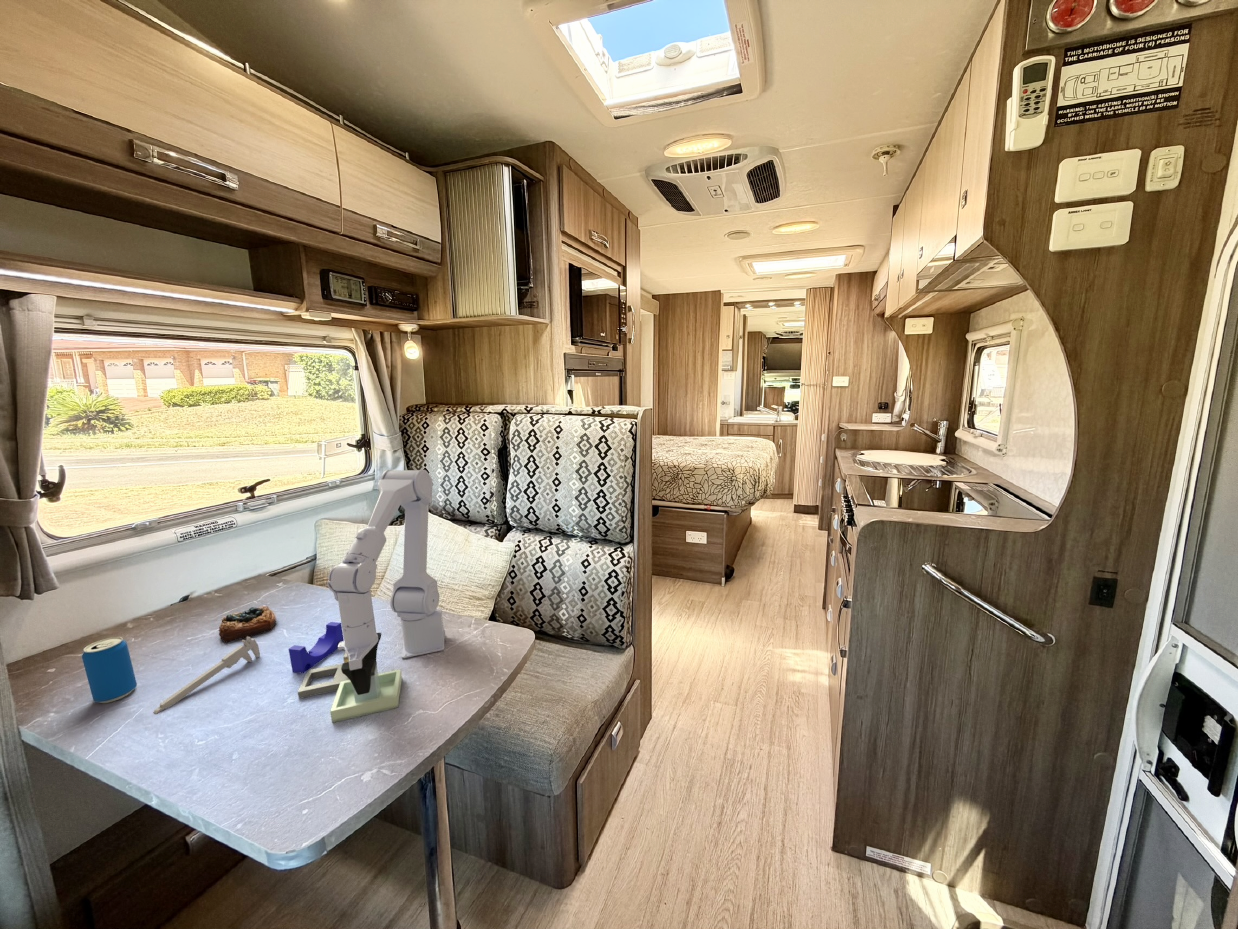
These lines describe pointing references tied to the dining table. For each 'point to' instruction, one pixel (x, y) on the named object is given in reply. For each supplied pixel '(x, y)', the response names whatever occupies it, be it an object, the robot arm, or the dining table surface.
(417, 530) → the robot arm
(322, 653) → the cable clip
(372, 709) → the parts tray
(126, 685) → the beverage can
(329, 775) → the dining table surface
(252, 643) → the caliper
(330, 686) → the block
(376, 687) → the grey-green rectangular block
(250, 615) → the pastry
